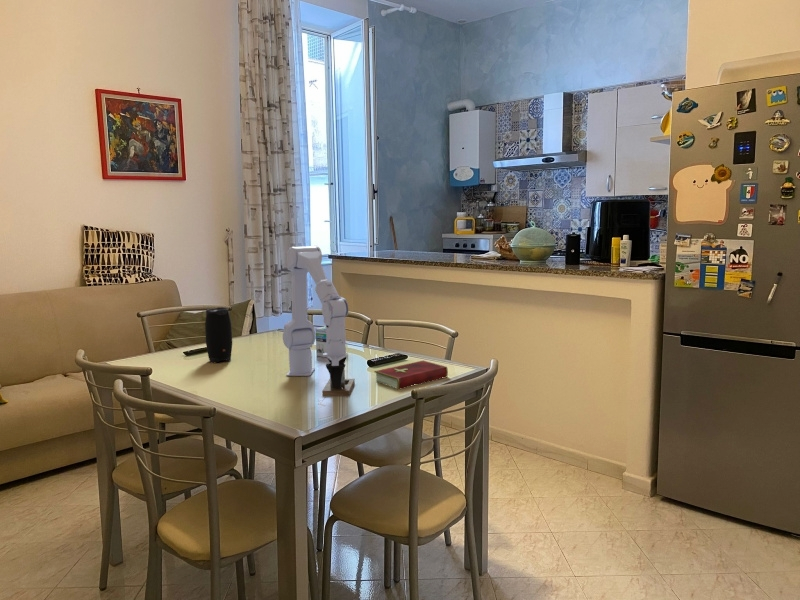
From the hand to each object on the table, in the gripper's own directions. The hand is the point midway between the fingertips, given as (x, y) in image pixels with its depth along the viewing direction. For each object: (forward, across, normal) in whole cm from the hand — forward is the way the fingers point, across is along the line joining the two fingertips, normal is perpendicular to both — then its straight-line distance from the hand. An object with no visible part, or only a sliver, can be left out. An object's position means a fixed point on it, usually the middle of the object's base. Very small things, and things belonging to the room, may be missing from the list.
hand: (337, 383), depth 183 cm
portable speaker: (+3, -45, -46) cm, 64 cm away
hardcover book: (+3, -12, +23) cm, 27 cm away
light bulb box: (+3, -51, -5) cm, 51 cm away
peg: (+3, 0, 0) cm, 3 cm away
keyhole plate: (+3, -3, 0) cm, 4 cm away
